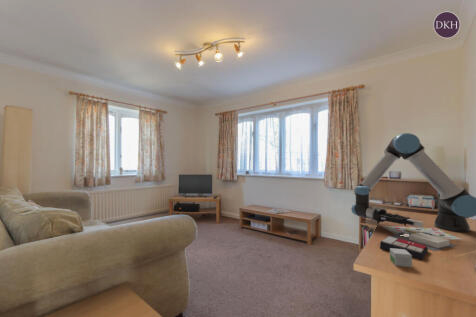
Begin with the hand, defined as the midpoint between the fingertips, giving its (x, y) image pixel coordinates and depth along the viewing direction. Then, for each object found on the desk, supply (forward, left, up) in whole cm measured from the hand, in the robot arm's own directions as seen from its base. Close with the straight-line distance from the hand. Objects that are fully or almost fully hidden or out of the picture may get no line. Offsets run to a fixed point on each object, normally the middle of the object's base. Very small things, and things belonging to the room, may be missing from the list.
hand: (421, 224), depth 108 cm
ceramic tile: (0, -3, -7) cm, 7 cm away
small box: (+34, +11, -9) cm, 37 cm away
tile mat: (0, -1, -8) cm, 8 cm away
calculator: (+20, +4, -9) cm, 22 cm away
